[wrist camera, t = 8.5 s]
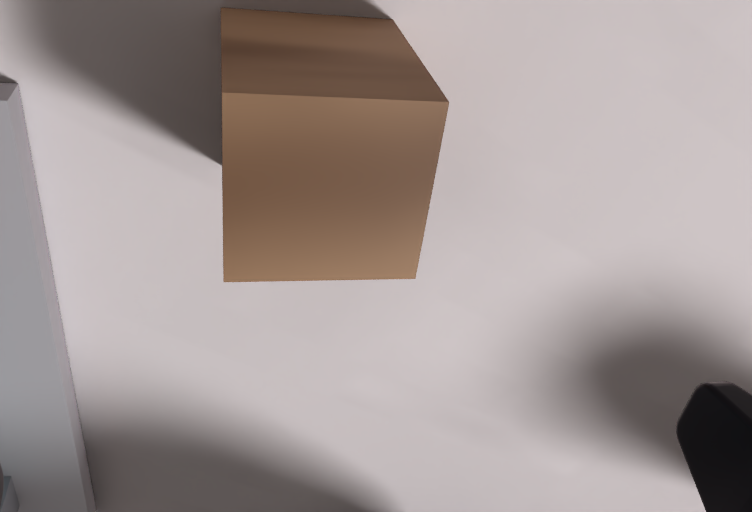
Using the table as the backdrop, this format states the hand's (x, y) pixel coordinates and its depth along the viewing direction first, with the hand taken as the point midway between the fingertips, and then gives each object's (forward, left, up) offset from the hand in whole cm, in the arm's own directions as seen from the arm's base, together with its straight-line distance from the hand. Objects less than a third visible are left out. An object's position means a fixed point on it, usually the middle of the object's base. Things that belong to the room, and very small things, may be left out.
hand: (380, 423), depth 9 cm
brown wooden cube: (0, 0, -10) cm, 11 cm away
